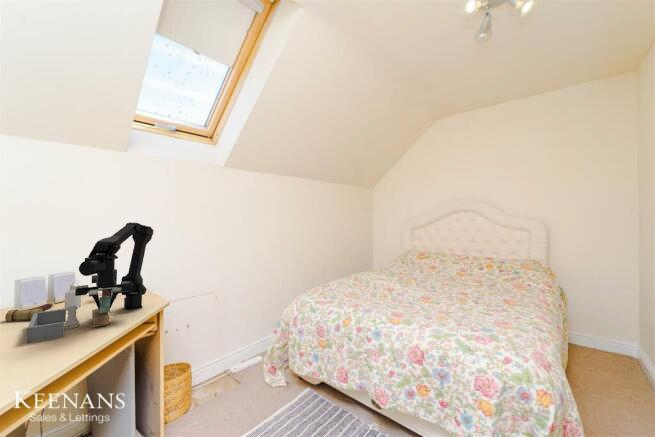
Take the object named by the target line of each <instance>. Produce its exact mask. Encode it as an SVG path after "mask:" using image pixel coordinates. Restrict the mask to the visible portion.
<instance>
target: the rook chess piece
mask: <svg viewBox="0 0 655 437" xmlns="http://www.w3.org/2000/svg"><path fill="white" fill-rule="evenodd" d="M78 309H79V307H78V308H77V306H73V307H72V306H70V307H68V309H66V314H67V318H66V321H65V322H64V330H65V329H66V330H69V329H70V330H72V329H76V328H77V327H79V326H80V324H79V322H80V321H79V320H78V318H77V313H78V312H77V310H78Z"/></svg>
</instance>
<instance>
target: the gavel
mask: <svg viewBox="0 0 655 437" xmlns="http://www.w3.org/2000/svg"><path fill="white" fill-rule="evenodd" d="M53 306H54V303H46V304H45V303H44V304H43V305H40V306H37V307H33V308H32V309H22V310H21V309H20V310H19V309H9V310H8V311H7V312H6V314H5V317H4V319H5V321H6V322H7V323H8V322H11V323H12V322H15V321H31V319H32V317H33V314H34V313H36V312H44V311H48V310H50V309H51V308H52V307H53Z"/></svg>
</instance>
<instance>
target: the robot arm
mask: <svg viewBox="0 0 655 437" xmlns="http://www.w3.org/2000/svg"><path fill="white" fill-rule="evenodd" d="M154 231H155V230H154V229H153V228H152V226H150V225H149V226H148V225H144V224H141V223H138V222H127V223H126V224H125V226H123V227H122V228H120V229H119V230H118V231H116V232H115V233H113V234H112V235H111V236H108V237H104V238H101V239H99V240H97V241H96V242H95V244H94V246H93V248H92V250H91V251H90V253H89V255H88V256H87V257H85V258H84V261H82V262H81V263H80V265H79V266H78V271H79V273H80V274H81V275H82V276H85V277H90V276H91V284H95V285H96V286H90V287H89V284H86V285H85V284H84V285H77V287H76V288H75V296H81V297H82V296H86V295H87V294H88V297H91V298H92V299H93V300H94V302H95V304H96V307H97V309H98V310H100V303H99V297H100V296H99V292H100V291H101V292H102V290H111V289H112V291H111V298H110V309H111V308H112V306H113V304H114V302H115V300H116V299H117V296H118V294H121V296H125V297H124V298H123V307H124V308H125V310H127V311H128V310H134V309H141V308H143V295H145V294H146V293H147V288H146V287H145V285H144V283H143V282H144V279H143V276H142V274H141V272H142V267H143V262H144V257H145V254H146V248H147V245H148V244H149V242H150V241H151V240H152V238H153V235H154ZM130 237H131V238H132V240H133V244H134V245H133V249H132V253H131V259H130V263H129V269H128V272H127V273H126V274H125V276H124V275H123V276H122V277H121V281H120V283H117V284H116V285H114V269H116V268H115V265H116V260H117V259H118V258H119V256H118V255H116V254H117V253H118V252H119V251H120V250H121V247H122V246H121V245H122V244H124V242H125V241H126V240H128V239H129V238H130ZM107 287H109V288H107ZM115 298H116V299H115Z"/></svg>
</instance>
